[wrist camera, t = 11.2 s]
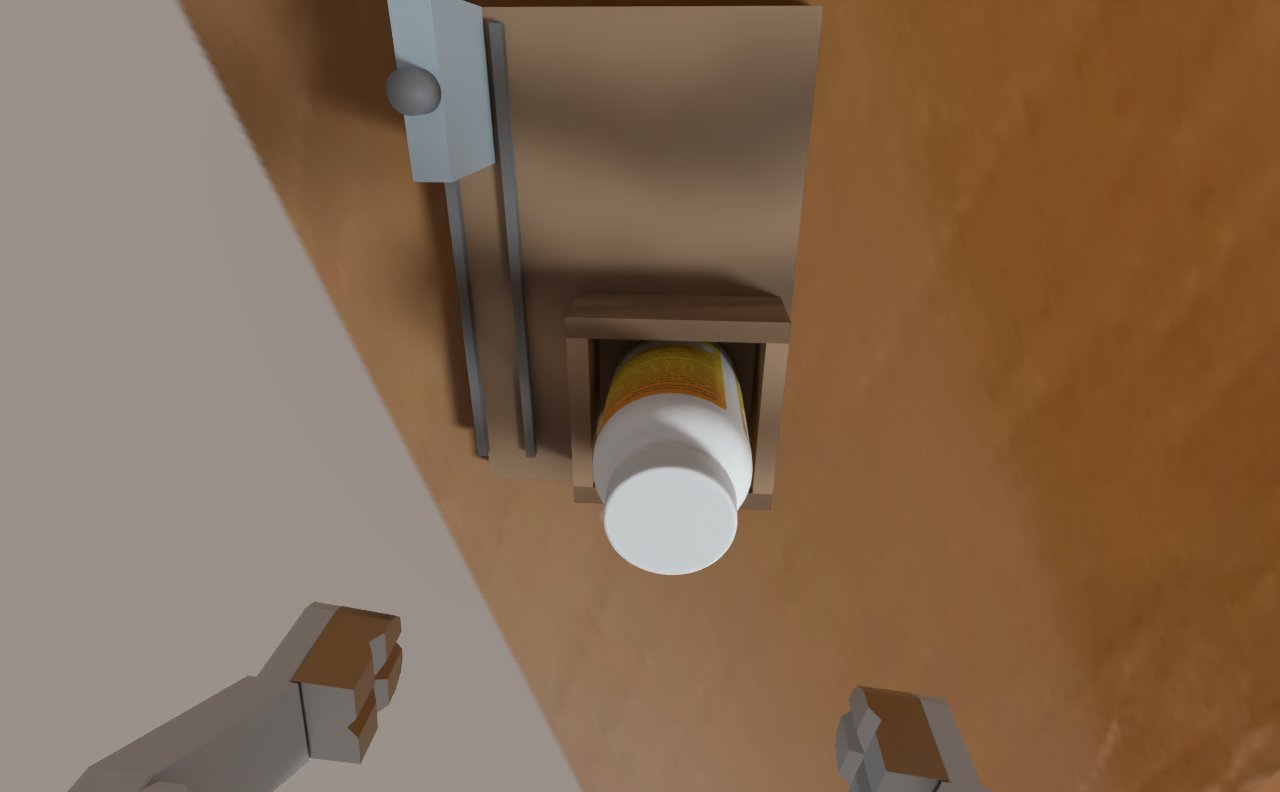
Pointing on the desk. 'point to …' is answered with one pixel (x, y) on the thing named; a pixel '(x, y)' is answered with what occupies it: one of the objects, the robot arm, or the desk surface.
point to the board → (630, 217)
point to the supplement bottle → (672, 455)
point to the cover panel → (442, 87)
